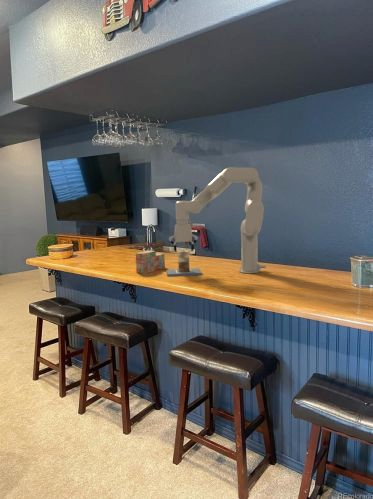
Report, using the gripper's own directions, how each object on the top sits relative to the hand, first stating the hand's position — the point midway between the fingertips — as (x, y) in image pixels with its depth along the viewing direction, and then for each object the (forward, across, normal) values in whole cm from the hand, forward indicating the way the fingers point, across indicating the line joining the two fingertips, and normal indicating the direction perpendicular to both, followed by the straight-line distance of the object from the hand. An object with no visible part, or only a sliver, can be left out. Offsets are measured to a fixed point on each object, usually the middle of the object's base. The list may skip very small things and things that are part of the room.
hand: (184, 251), depth 220 cm
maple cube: (+6, 0, 0) cm, 6 cm away
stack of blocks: (+13, +20, -14) cm, 28 cm away
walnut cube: (+12, 0, 0) cm, 12 cm away
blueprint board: (+13, +1, 0) cm, 13 cm away
